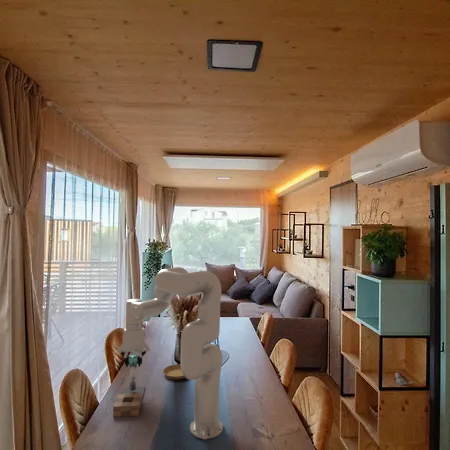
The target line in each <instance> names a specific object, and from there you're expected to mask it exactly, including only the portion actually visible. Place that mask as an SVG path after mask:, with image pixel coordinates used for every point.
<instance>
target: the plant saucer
mask: <svg viewBox="0 0 450 450" xmlns="http://www.w3.org/2000/svg"><path fill="white" fill-rule="evenodd" d="M162 373H163V374H164V376H165V377H167V378H168V379H171V380H182V379H186V377H185V376H184V375H183V373H182V370H181V363H178V364H172V365H168V366H166V367H164V368H163V370H162Z"/></svg>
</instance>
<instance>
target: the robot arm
mask: <svg viewBox="0 0 450 450" xmlns="http://www.w3.org/2000/svg"><path fill="white" fill-rule="evenodd" d="M154 280H155V286H154V288H153V289H154V295H155V296H156V297H155V298H153V299H148V300H144V301H143V300H142V299H140V298H129V299H128V300H127V301H126V304H125V328H124V330H123V333H122V341H121V342H122V344H120V346H119V347H118V348H117V350H116V352H117V353H119V354H120V355H121V356H122V357H123V359H124V365H125V368H128V367H129V365H128V356H129V353H135V352H138V355H139V359H138V364H137V367H141V365H142V364H143V357H144V356H146V355H145V354H148V352H149V351H150V350H151V348H150V346H149V345H148V344H147V343H146V332H145V327H146V325H147V324H146V323H145V322H143V320H146V319H148V318H152V317H155V316H159V315H161V314H162V313H164V312H165V311H166V310H167V309H168V308H169V306H170V305H171V302H172V298H173V297H174V296H175V295H177V296H180V297H189V296H193V295H198V294H201V297H200V299H199V301H198V304H197V305H198V306H197V319H195V320H193V321H191V322H189V323H187V324H185V326H184V327H183V328H182V332H181V337H180V338H181V339H180V364H181V370H182V373H183V375H184V376H185V379H187V380H189V381H194V380H195V381H194V408H193V409H194V410H193V413H194V414H193V421H191V423H190V425H189V431H190V433H191V434H192V435H193V436H194V437H195V438H199V439H203V440H208V439H209V440H210V439H215V438H216V437H218V436H219V435H221V434H222V432H223V430H224V424H223V422H222V421H221V420H220V386H221V384H220V383H221V371H222V367H223V366H222V365H223V358H224V357H223V352H222V350H221V348H220V347H219V346H218V345H216V344H213V342H215V341H216V340H218V338H219V335H220V331H221V330H220V329H221V328H220V327H221V326H220V325H221V300H222V285H221V282H220V279H219V278H218V276H217V275H216V274H215V273H213V272H211V271H208V270H199V271H198V270H197V271H193V272H188V271H187V270H186V268H184V267H180V266H179V267H169V268H168V267H167V268H163V269H161V270H159V271H158V272H157V273H156V276H155V279H154Z"/></svg>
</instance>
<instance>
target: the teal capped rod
mask: <svg viewBox="0 0 450 450" xmlns="http://www.w3.org/2000/svg"><path fill="white" fill-rule="evenodd" d="M138 359H139V354H134V353H133V354H130V355H129V354H128V366H129V387H130V390H131V391H134V390H136V387H137V375H138V374H137V372H138V371H137V370H138V369H137V368H138Z"/></svg>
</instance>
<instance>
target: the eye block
mask: <svg viewBox="0 0 450 450" xmlns="http://www.w3.org/2000/svg"><path fill="white" fill-rule="evenodd" d="M142 401H143V400H142V393H133V394H121V393H118V394H117V396H116V398H115V402H114V404H113V409H112V410H113V413H112V417H127V416H128V417H129V416H131V417H132V416H133V417H134V416H140V415H139V414H140V410H141V406H142Z"/></svg>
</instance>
